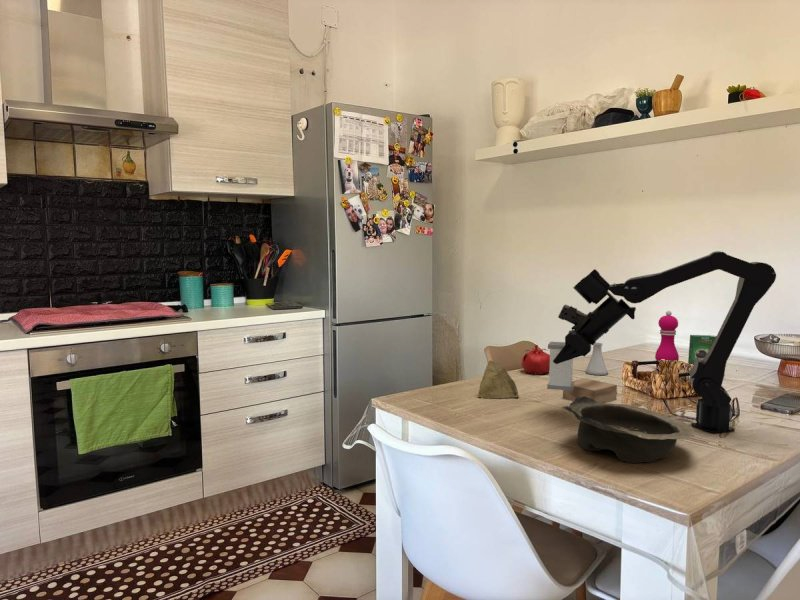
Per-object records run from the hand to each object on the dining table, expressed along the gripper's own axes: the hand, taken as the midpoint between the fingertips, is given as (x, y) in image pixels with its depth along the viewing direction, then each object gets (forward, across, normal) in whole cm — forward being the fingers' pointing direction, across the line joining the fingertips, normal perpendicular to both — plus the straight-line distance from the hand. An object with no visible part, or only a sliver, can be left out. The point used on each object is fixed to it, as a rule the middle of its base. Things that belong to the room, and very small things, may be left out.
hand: (555, 360), depth 148 cm
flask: (+4, -52, +15) cm, 54 cm away
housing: (+4, 0, +6) cm, 7 cm away
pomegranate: (+18, -46, +2) cm, 49 cm away
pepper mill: (-11, -65, +30) cm, 72 cm away
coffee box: (-18, -60, +37) cm, 73 cm away
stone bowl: (-2, +22, +22) cm, 31 cm away
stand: (+4, -17, +14) cm, 23 cm away
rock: (+21, -10, -2) cm, 24 cm away
